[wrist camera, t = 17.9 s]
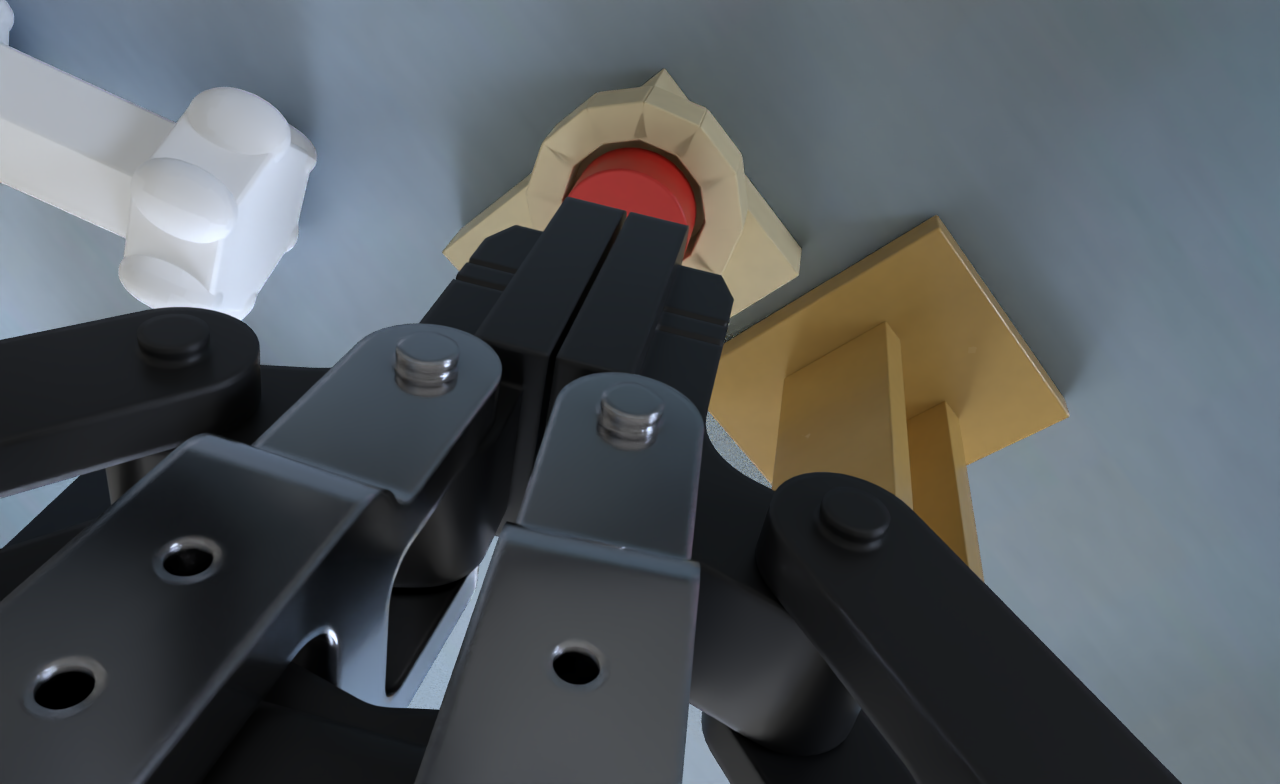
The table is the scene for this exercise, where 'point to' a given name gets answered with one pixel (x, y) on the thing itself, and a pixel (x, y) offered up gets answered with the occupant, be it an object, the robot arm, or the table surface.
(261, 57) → the table surface
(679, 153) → the button box
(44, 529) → the tissue box
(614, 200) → the button
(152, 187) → the dog bone
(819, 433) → the bracket
